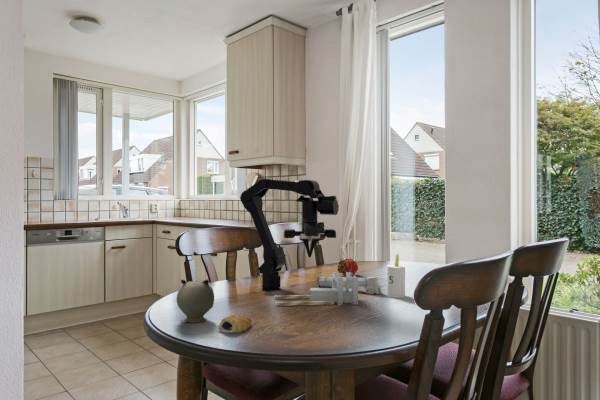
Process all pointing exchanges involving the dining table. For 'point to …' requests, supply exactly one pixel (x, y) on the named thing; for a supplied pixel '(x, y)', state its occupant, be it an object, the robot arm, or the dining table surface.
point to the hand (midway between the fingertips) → (309, 257)
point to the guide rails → (299, 301)
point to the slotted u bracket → (350, 284)
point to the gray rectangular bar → (329, 294)
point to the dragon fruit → (347, 266)
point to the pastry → (234, 324)
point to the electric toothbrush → (368, 283)
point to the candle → (396, 280)
